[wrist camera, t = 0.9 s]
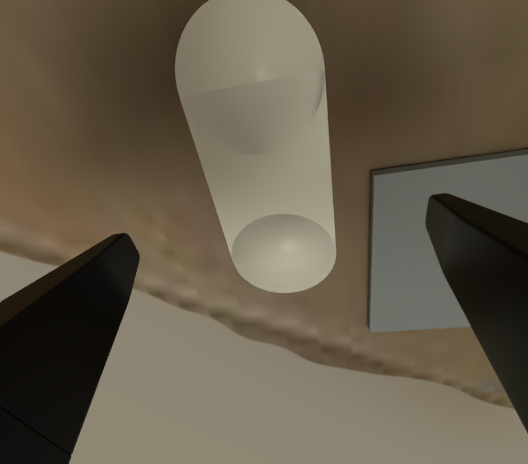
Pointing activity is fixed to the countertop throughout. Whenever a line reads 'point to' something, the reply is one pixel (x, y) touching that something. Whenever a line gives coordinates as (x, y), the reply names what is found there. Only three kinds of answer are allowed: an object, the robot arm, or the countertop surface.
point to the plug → (262, 136)
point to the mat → (418, 241)
